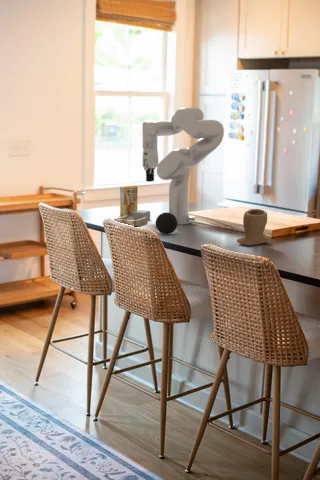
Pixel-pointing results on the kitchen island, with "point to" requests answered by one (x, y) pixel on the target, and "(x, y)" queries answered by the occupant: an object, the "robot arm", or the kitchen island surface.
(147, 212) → the crate
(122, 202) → the candy box
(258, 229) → the stone cup
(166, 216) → the speaker
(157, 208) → the kitchen island surface
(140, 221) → the bay
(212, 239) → the kitchen island surface
